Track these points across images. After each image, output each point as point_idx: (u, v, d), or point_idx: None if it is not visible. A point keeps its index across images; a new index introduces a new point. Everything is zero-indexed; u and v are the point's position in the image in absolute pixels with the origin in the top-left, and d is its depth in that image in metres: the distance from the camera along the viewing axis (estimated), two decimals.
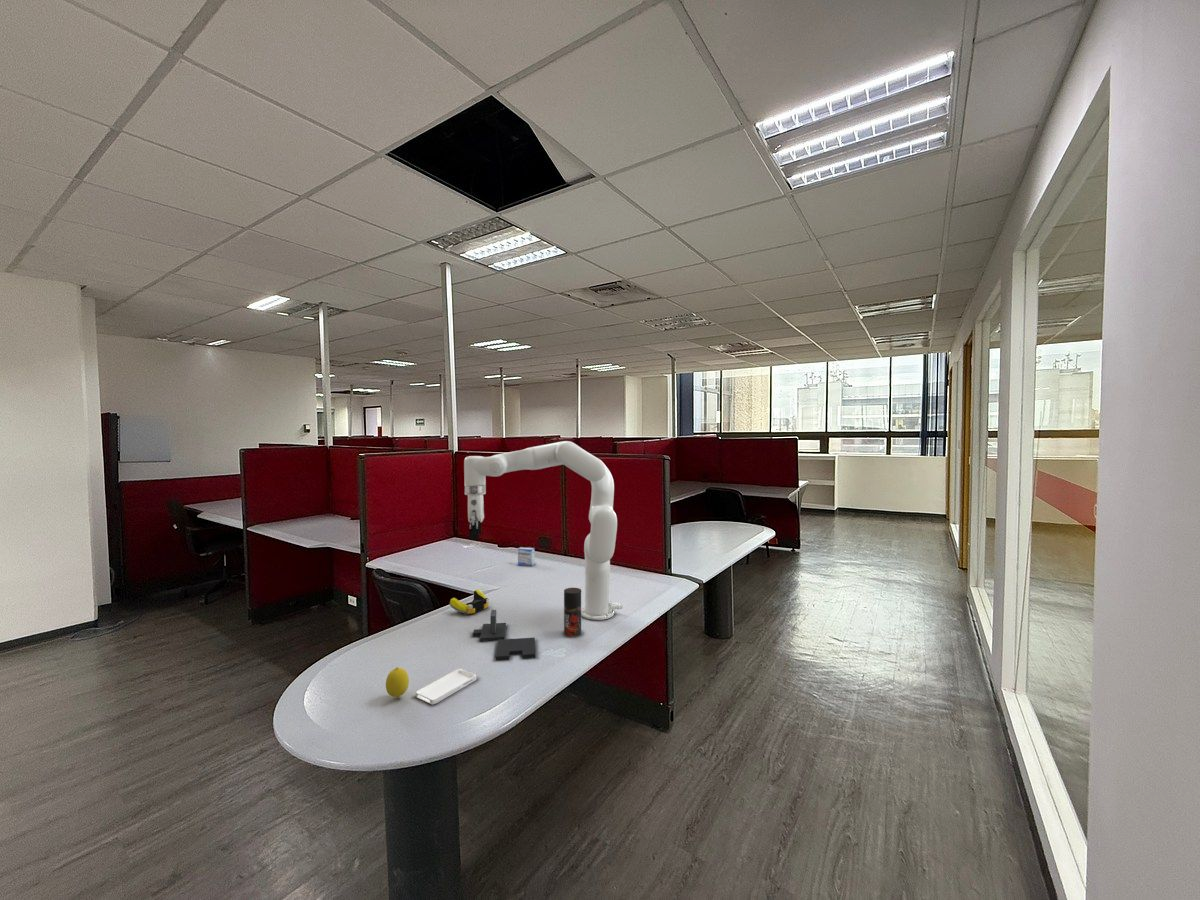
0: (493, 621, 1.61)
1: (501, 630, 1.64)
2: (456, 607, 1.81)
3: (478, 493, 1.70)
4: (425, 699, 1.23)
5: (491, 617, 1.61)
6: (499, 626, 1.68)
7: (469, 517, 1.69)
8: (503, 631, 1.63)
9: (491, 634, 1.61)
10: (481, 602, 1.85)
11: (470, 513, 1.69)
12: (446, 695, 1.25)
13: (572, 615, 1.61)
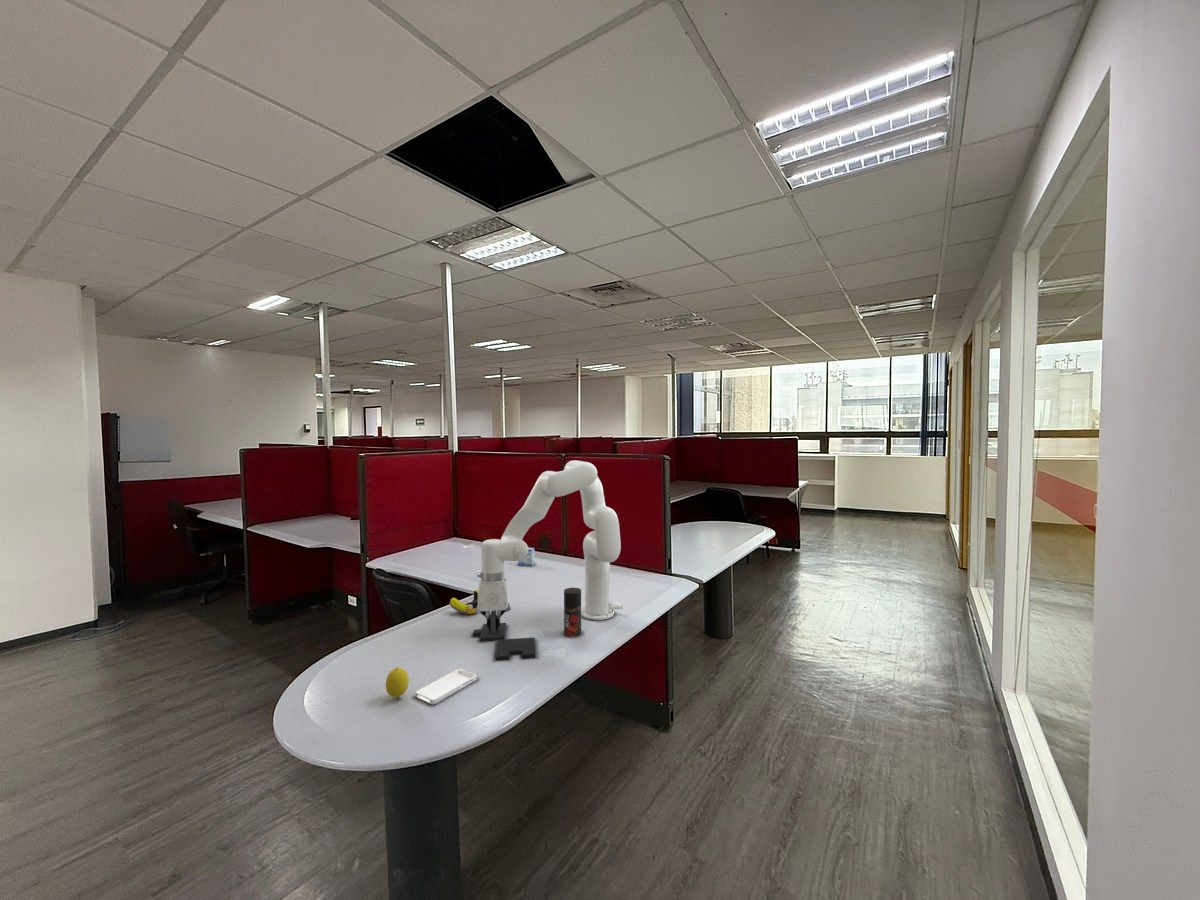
0: (493, 621, 1.61)
1: (501, 630, 1.64)
2: (456, 607, 1.81)
3: (482, 580, 1.62)
4: (425, 699, 1.23)
5: (491, 617, 1.61)
6: None
7: None
8: (503, 631, 1.63)
9: (491, 634, 1.61)
10: None
11: None
12: (446, 695, 1.25)
13: (572, 615, 1.61)
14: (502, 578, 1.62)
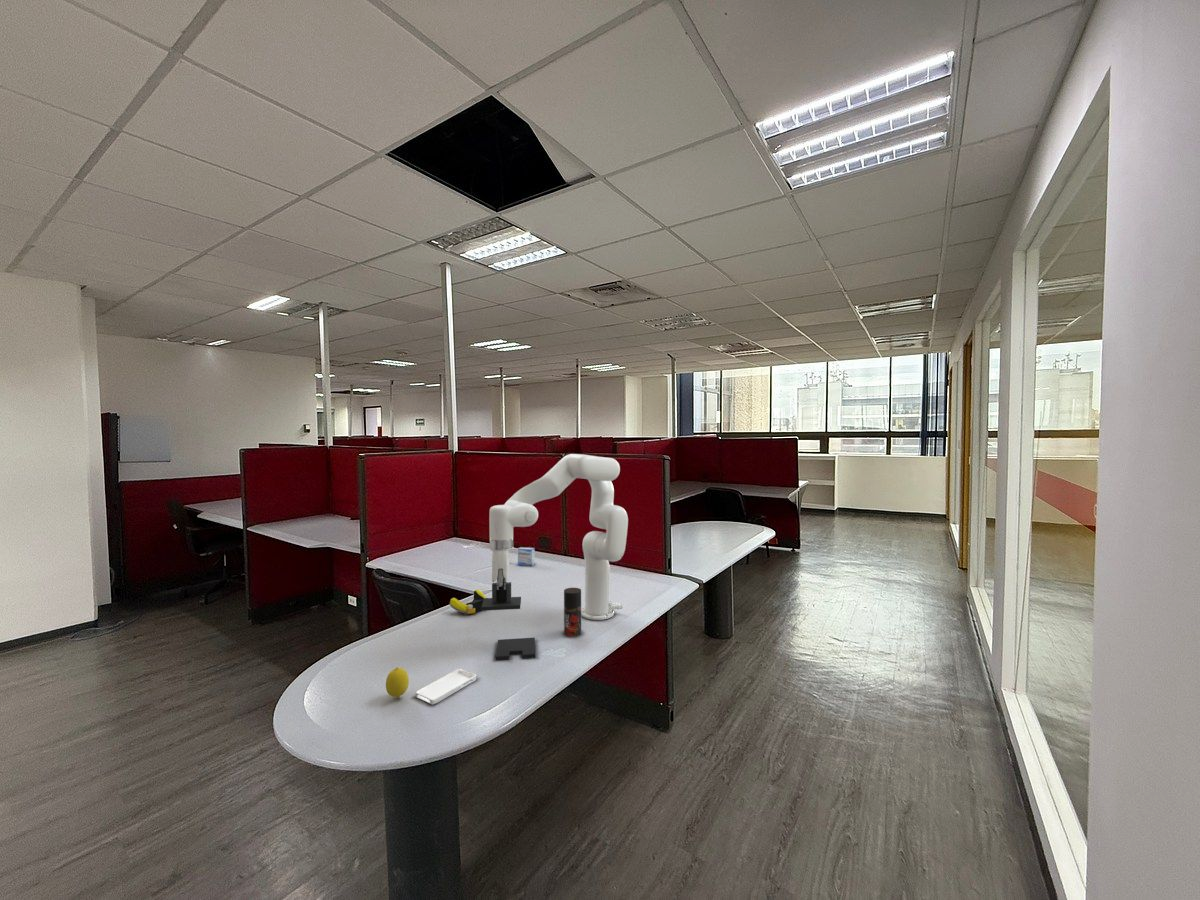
0: (492, 589, 1.53)
1: (498, 604, 1.51)
2: (456, 607, 1.81)
3: None
4: (425, 699, 1.23)
5: (492, 584, 1.54)
6: (511, 603, 1.53)
7: None
8: (495, 605, 1.50)
9: (490, 601, 1.54)
10: (481, 602, 1.85)
11: None
12: (446, 695, 1.25)
13: (572, 615, 1.61)
14: (494, 547, 1.50)
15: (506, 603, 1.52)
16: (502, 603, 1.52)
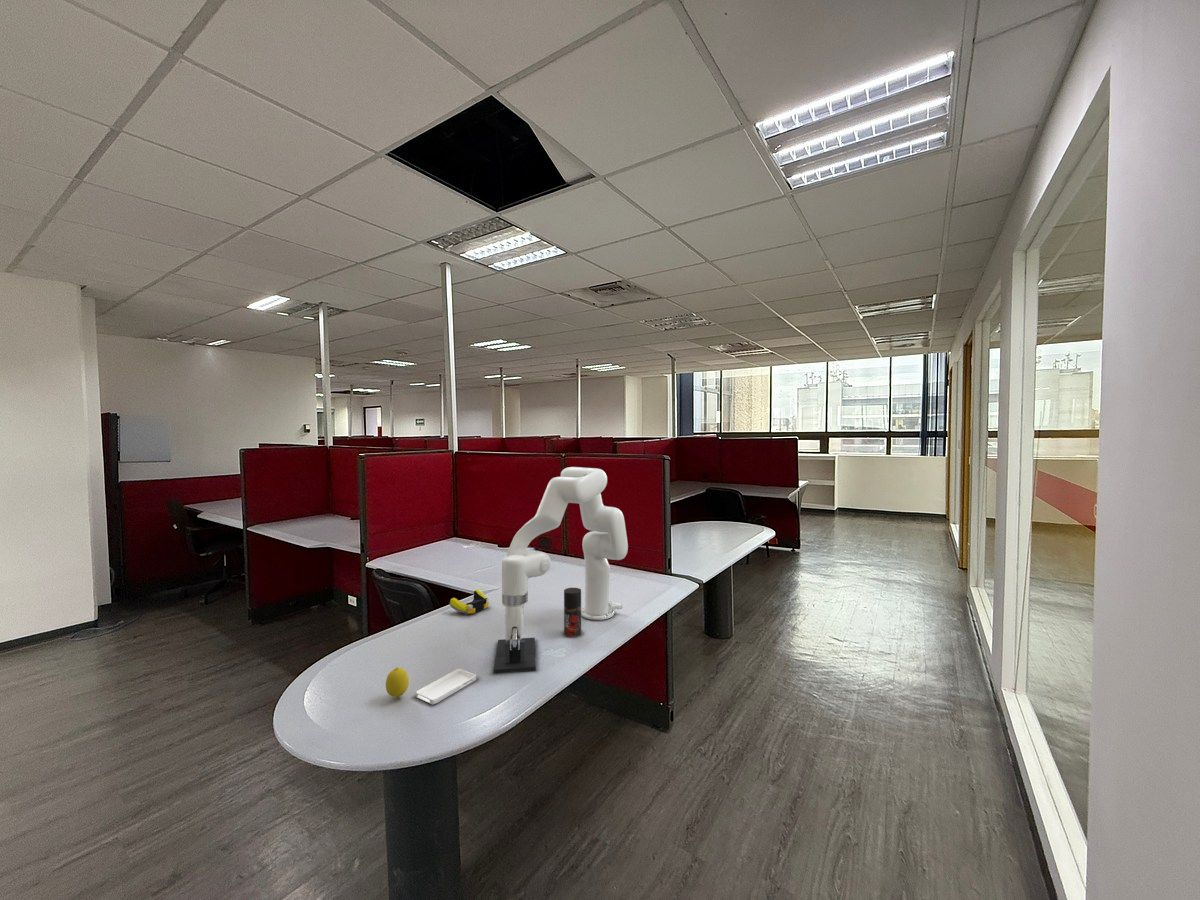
0: None
1: (512, 666, 1.39)
2: (456, 607, 1.81)
3: None
4: (425, 699, 1.23)
5: None
6: (525, 663, 1.41)
7: None
8: (508, 667, 1.38)
9: (502, 661, 1.42)
10: (481, 602, 1.85)
11: None
12: (446, 695, 1.25)
13: (572, 615, 1.61)
14: (508, 603, 1.38)
15: (520, 664, 1.40)
16: (516, 664, 1.40)
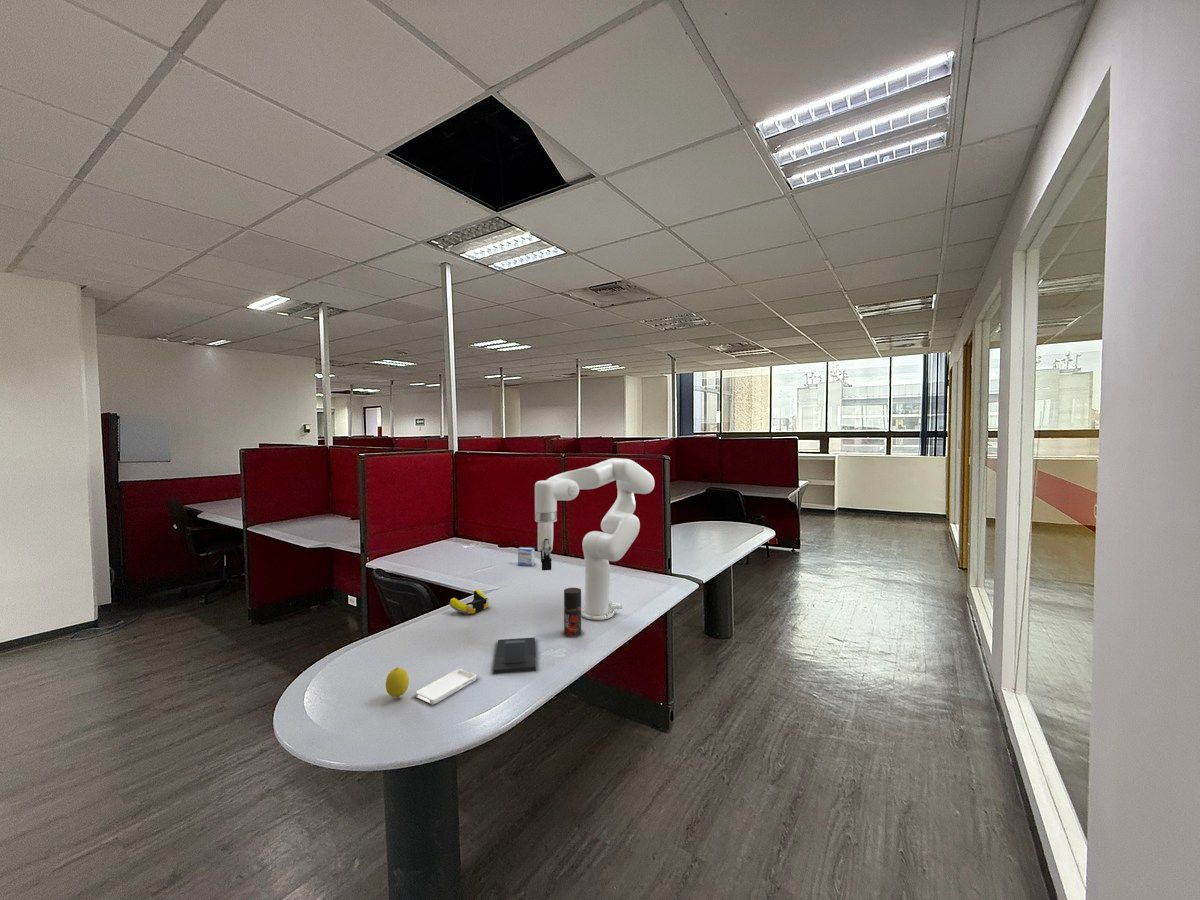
0: None
1: (512, 666, 1.39)
2: (456, 607, 1.81)
3: None
4: (425, 699, 1.23)
5: None
6: (525, 663, 1.41)
7: None
8: (508, 667, 1.38)
9: (502, 661, 1.42)
10: (481, 602, 1.85)
11: None
12: (446, 695, 1.25)
13: (572, 615, 1.61)
14: (540, 519, 1.60)
15: (520, 664, 1.40)
16: (516, 664, 1.40)
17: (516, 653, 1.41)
